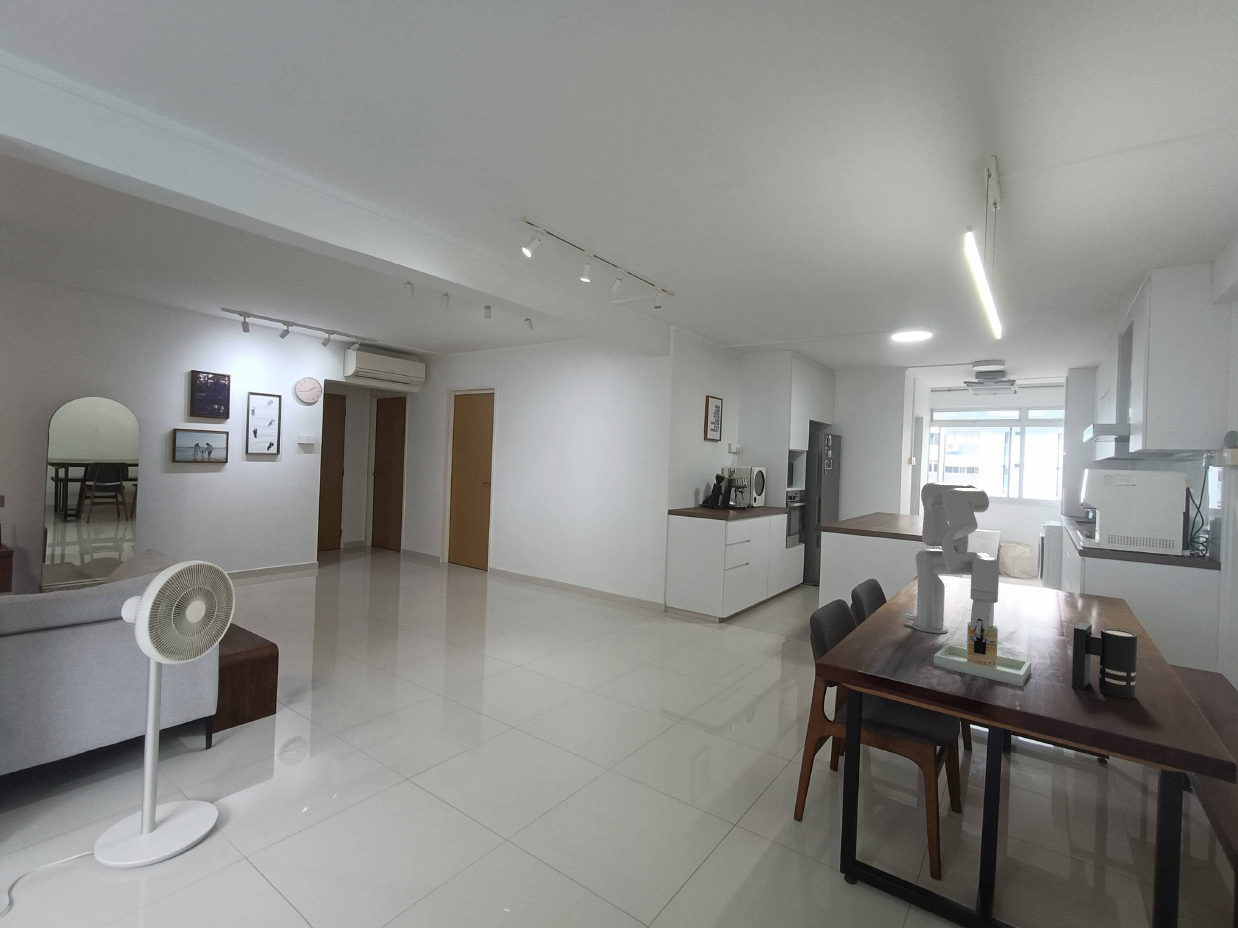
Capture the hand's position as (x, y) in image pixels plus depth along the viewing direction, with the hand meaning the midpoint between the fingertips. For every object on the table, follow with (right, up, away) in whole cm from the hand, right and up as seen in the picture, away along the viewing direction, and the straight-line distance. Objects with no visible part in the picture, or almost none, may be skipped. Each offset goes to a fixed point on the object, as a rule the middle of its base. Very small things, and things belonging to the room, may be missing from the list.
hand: (982, 650), depth 189 cm
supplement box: (0, -5, 0) cm, 5 cm away
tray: (0, -6, 0) cm, 6 cm away
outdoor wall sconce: (+27, -7, -15) cm, 31 cm away
